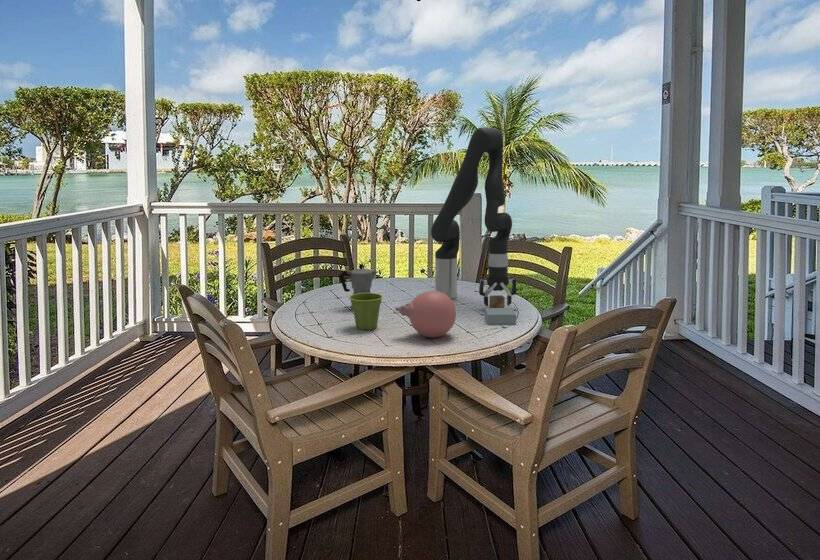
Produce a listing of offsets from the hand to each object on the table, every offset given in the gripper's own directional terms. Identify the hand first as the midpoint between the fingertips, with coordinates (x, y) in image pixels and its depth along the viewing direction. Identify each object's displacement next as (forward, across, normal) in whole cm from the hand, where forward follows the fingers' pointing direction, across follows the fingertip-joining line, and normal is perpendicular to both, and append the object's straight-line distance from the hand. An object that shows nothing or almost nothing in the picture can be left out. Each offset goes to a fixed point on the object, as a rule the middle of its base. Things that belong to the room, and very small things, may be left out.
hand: (497, 305), depth 231 cm
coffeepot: (+1, +54, -4) cm, 54 cm away
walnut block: (+2, 0, 0) cm, 2 cm away
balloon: (+2, +30, +36) cm, 47 cm away
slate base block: (+2, +2, +18) cm, 18 cm away
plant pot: (+2, +50, +24) cm, 56 cm away
